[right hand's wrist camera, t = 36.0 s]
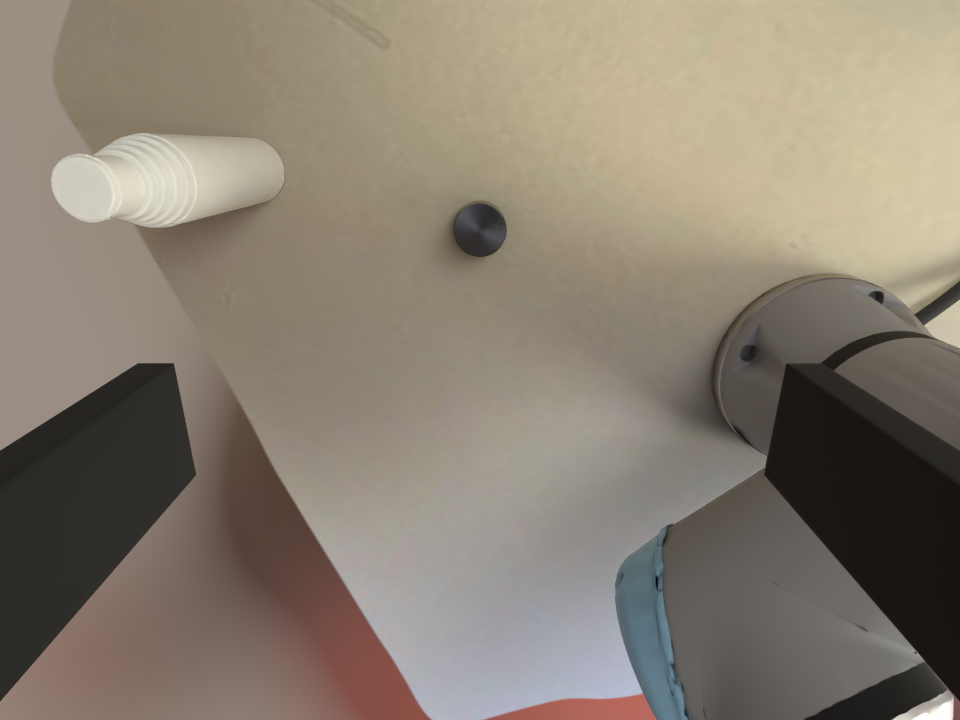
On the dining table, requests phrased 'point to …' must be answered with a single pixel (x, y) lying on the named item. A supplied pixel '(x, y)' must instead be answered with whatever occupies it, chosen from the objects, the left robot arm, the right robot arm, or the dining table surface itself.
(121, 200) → the bottle
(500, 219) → the cap
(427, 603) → the dining table surface
